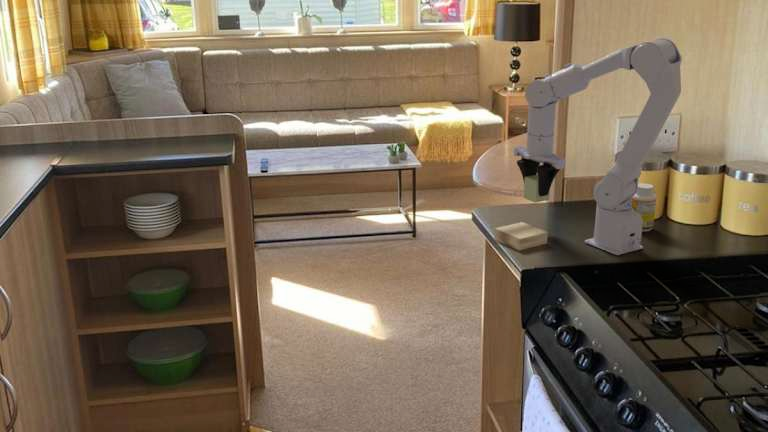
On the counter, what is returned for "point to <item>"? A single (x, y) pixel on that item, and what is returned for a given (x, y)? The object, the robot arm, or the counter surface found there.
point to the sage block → (533, 189)
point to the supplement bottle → (645, 205)
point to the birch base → (520, 236)
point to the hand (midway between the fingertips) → (536, 192)
